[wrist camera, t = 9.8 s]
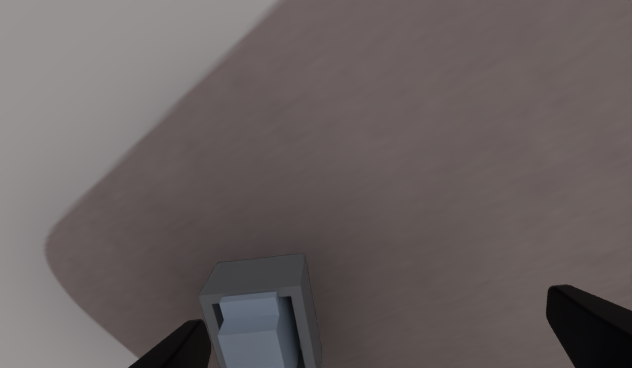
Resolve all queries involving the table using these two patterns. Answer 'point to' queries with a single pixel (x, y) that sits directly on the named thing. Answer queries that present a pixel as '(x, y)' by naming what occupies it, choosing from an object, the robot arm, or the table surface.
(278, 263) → the pocket block
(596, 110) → the table surface
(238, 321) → the block
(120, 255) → the table surface
